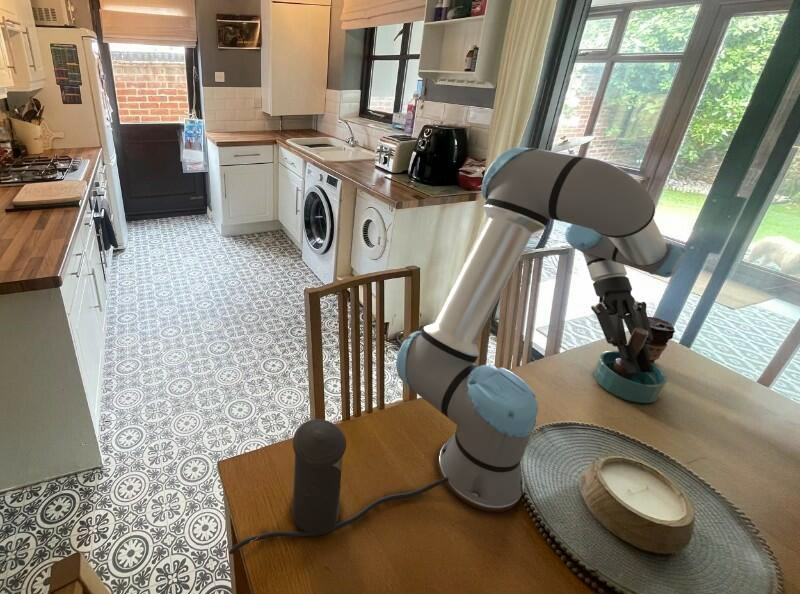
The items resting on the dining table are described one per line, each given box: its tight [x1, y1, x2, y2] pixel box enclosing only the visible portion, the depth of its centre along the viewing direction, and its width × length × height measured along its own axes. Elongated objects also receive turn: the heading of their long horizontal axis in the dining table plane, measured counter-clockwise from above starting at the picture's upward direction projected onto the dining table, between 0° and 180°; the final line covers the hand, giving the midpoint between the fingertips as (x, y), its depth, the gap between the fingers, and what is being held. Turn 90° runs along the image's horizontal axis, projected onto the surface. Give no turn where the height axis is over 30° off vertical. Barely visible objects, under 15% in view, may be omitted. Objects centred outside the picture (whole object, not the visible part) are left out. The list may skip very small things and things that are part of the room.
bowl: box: [593, 350, 668, 404], centre depth 103 cm, size 13×13×6 cm
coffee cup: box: [647, 316, 676, 365], centre depth 110 cm, size 9×8×13 cm
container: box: [291, 418, 347, 537], centre depth 70 cm, size 9×9×20 cm
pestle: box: [611, 328, 649, 381], centre depth 101 cm, size 4×4×14 cm
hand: (640, 372), depth 98 cm, fingers closed on pestle, 3 cm apart
